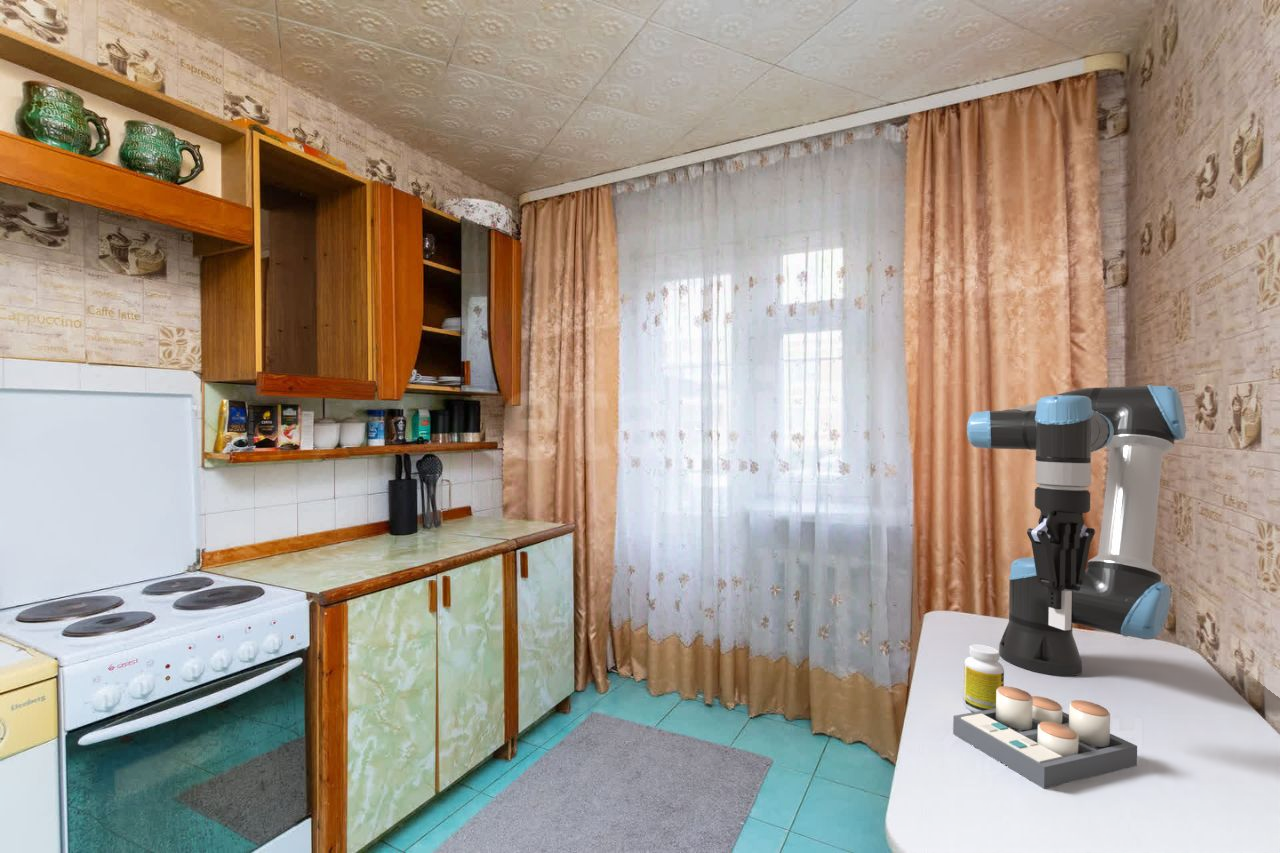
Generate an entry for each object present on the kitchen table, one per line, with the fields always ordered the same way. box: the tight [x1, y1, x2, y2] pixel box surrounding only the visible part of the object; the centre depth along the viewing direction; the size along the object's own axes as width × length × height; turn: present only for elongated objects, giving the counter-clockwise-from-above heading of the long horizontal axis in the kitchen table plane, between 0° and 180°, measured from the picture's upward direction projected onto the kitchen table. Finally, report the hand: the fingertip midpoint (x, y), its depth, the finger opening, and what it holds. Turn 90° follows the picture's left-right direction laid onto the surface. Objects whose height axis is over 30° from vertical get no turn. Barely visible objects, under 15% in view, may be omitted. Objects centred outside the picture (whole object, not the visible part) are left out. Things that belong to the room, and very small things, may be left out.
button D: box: [1037, 722, 1079, 757], centre depth 86 cm, size 5×5×5 cm
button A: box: [1031, 695, 1064, 724], centre depth 95 cm, size 5×5×5 cm
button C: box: [996, 685, 1033, 730], centre depth 92 cm, size 5×5×5 cm
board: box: [952, 708, 1138, 790], centre depth 90 cm, size 20×15×3 cm
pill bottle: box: [963, 643, 1005, 713], centre depth 102 cm, size 6×6×11 cm
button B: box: [1068, 699, 1111, 747], centre depth 88 cm, size 5×5×5 cm
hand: (1059, 627), depth 95 cm, fingers closed
